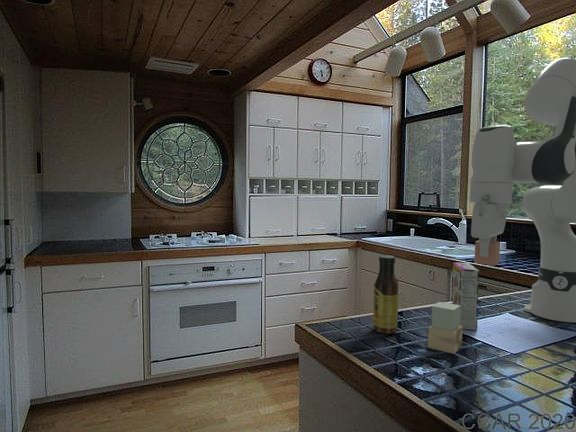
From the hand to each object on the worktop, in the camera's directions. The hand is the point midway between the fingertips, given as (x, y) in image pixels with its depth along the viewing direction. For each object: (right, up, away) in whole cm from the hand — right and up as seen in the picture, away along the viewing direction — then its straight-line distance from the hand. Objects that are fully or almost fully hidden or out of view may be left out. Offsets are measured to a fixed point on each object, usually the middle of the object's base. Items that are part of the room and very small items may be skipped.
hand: (487, 255), depth 99 cm
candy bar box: (+3, -21, +19) cm, 29 cm away
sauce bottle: (-21, -21, +13) cm, 32 cm away
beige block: (-9, -22, +2) cm, 24 cm away
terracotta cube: (0, -2, 0) cm, 2 cm away
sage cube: (-9, -17, +2) cm, 19 cm away
